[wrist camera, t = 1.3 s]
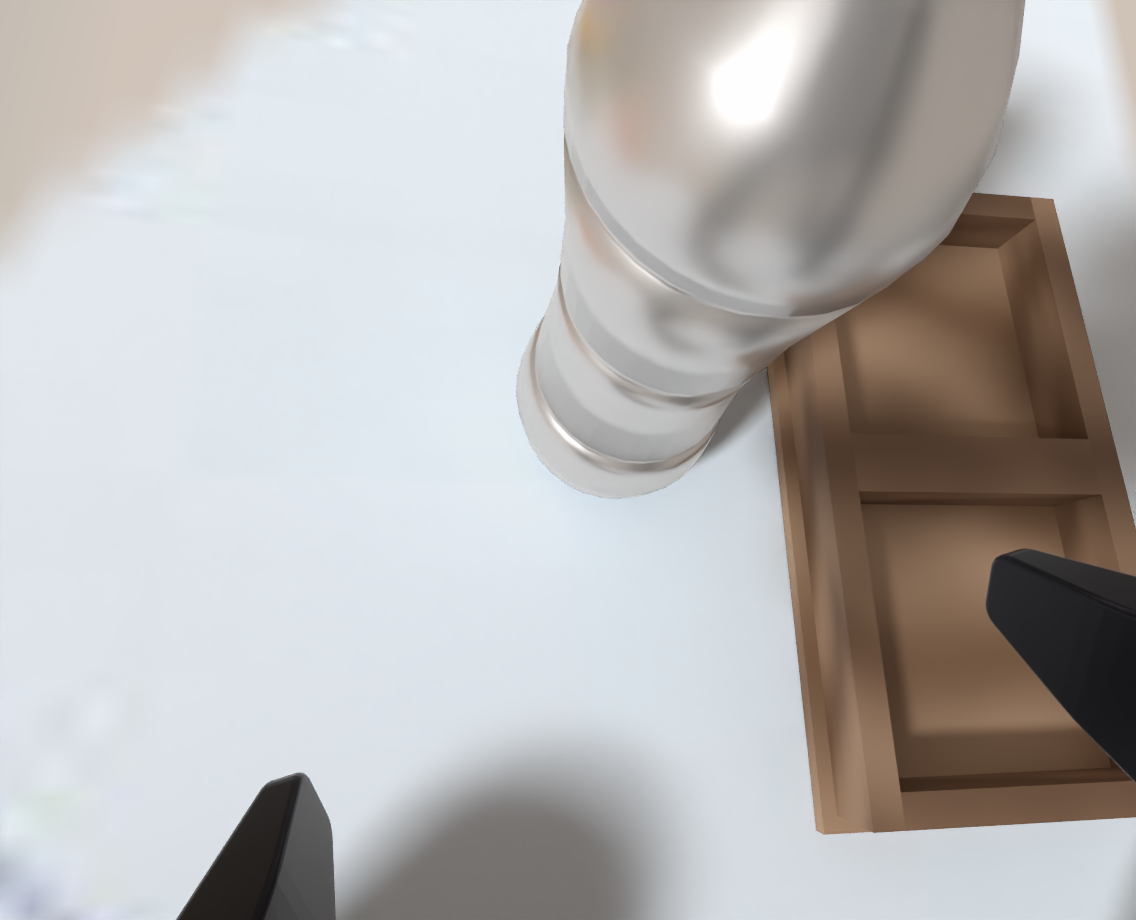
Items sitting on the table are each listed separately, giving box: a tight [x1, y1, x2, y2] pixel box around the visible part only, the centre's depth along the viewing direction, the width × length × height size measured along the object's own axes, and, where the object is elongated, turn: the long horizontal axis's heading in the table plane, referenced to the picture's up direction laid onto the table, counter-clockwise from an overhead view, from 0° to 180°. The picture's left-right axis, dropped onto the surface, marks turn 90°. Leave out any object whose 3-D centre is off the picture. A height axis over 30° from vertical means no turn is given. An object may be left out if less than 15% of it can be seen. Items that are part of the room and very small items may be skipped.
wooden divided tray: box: [767, 193, 1136, 834], centre depth 24 cm, size 23×12×2 cm, turn 1°
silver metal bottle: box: [516, 0, 1025, 499], centre depth 14 cm, size 6×7×20 cm
